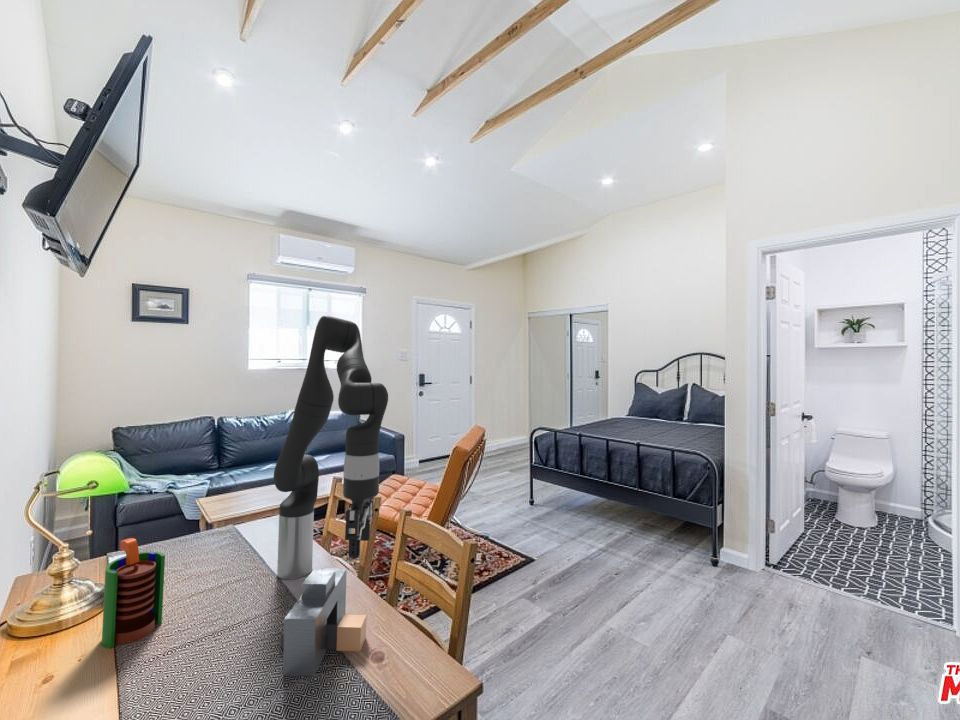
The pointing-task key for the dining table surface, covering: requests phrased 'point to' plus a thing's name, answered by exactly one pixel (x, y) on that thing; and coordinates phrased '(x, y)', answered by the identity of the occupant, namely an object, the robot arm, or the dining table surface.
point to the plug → (344, 634)
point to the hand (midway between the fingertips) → (359, 548)
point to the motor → (132, 595)
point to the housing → (313, 620)
